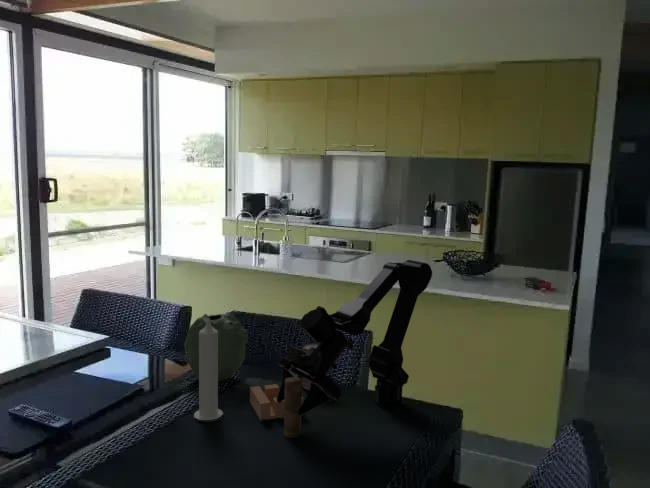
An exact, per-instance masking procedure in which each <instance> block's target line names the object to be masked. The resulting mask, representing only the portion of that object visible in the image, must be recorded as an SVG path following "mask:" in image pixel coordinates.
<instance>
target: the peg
mask: <svg viewBox="0 0 650 488" xmlns="http://www.w3.org/2000/svg"><path fill="white" fill-rule="evenodd" d="M302 397H303V387H302V379H301V378H298V377H289V378H286V379H285V399H284V418H283V435H284V437H286V438H290V439H293V438H294V439H295V438H299V437H301V436H302V435H301V434H302V416H300V415H299V414H298V413H297V412H298V410H299V408H300V406H301V405H302Z"/></svg>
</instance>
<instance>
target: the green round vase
mask: <svg viewBox="0 0 650 488" xmlns="http://www.w3.org/2000/svg"><path fill="white" fill-rule="evenodd" d="M208 318H209V319H210V323H211V326H212V327H213V328H214V329H216V330H217V331H218V382H220V381H224V380H227V379H229V378H231V377H232V376H234V374H235V373H236V372H237V371H238V370H239V368H240V367H241V366H242V365H243V362H244V361H245V357H246V346H247V345H246V344H248V343H250V341H249V340H248V339H249V334H248V329H245V327H244V326H243V325H242V324H241V323H242V321H241V320H238V319H237V317H235V314H234V313H233V312H231V311H230V312H229V311H227V312H226V313H217V314H209V315H208V314H207V313H204V314H203V315H202V316H199V317H198V318H196V319H195V321H194V322H192V324H191V325H190V326H189V329H188V331H187V333H186V337H185V340H184V344H183V349H184V351H185V353H186V357H187V363H188V365H189V366H190V369H192V371H193V372H194V373H195V375H197V376H198V377H199V332H200V331H201V330H202V329H203V328H204V327H205V326H206V323H207V319H208Z"/></svg>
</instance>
